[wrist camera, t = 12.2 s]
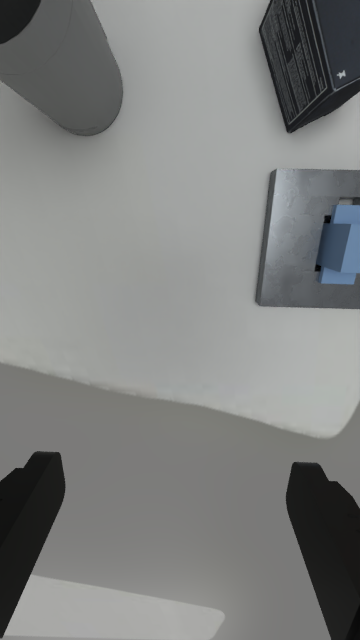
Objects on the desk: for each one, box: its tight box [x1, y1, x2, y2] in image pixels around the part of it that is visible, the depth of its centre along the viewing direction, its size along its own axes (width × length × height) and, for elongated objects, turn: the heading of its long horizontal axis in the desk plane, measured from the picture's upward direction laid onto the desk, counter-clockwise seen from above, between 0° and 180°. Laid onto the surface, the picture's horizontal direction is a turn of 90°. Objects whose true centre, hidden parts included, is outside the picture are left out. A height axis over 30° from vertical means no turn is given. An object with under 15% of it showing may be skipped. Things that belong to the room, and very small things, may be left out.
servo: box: [316, 205, 360, 284], centre depth 32 cm, size 9×4×7 cm, turn 178°
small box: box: [259, 0, 360, 133], centre depth 25 cm, size 11×6×10 cm, turn 25°
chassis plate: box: [255, 169, 360, 309], centre depth 34 cm, size 16×18×2 cm
